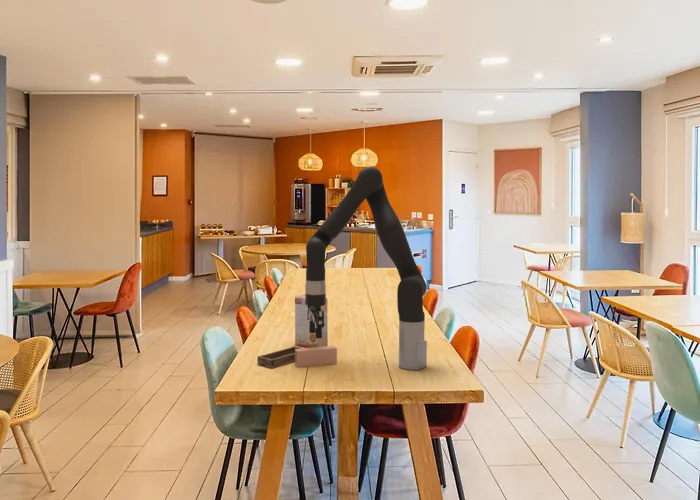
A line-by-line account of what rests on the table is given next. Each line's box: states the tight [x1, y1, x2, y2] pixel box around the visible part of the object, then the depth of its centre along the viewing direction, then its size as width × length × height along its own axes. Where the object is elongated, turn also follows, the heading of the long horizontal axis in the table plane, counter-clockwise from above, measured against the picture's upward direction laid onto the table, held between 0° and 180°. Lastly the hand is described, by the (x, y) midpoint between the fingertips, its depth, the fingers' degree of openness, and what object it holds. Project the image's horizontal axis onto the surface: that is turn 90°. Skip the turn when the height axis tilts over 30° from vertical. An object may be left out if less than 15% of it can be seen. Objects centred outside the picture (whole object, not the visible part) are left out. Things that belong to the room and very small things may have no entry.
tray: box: [257, 345, 302, 369], centre depth 219 cm, size 8×19×3 cm, turn 140°
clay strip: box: [294, 345, 338, 368], centre depth 215 cm, size 15×4×6 cm, turn 108°
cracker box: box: [294, 294, 329, 348], centre depth 239 cm, size 14×6×21 cm, turn 47°
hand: (315, 335), depth 214 cm, fingers open, 8 cm apart
